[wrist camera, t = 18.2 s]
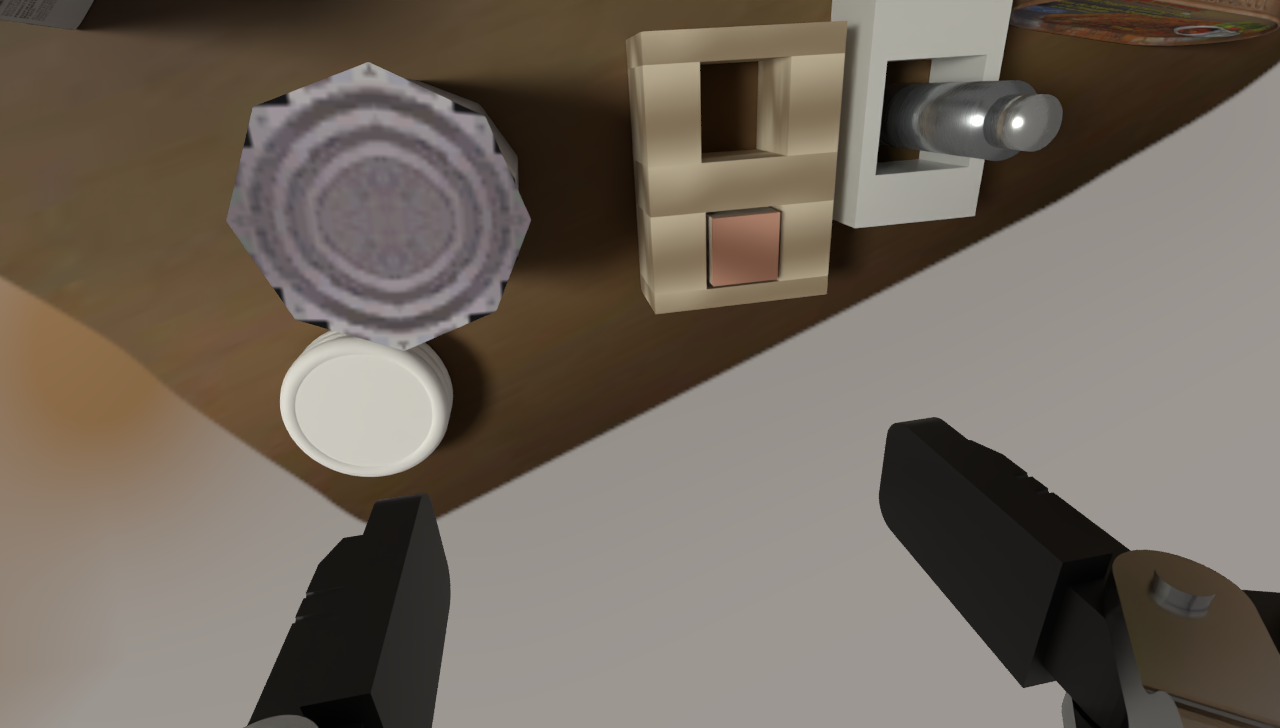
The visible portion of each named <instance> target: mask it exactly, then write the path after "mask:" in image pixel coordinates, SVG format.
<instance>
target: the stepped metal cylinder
mask: <svg viewBox="0 0 1280 728" xmlns="http://www.w3.org/2000/svg"><path fill="white" fill-rule="evenodd" d="M1062 116H1063V112H1062V106H1061V104H1060V102H1059V100H1058V99H1057V98H1056V97H1054V96H1052V95H1049V94H1037V93H1036V91H1035V90H1034V88H1033V87H1032V86H1031V85H1029V84H1028V83H1026V82H1023V81H1019V80H1005V81H973V82H941V83H909V84H885V88H884V98H883V107H882V117H881V127H880V136H879V145H884V146H891V147H899V148H906V149H913V150H920V151H927V152H934V153H941V154H949V155H956V156H963V157H970V158H977V159H984V160H992V161H1001V160H1005V159H1008V158H1010V157H1012V156H1014V155H1016V154H1017V153H1018V152H1020V151H1037V150H1040V149H1042V148H1043V147H1045V146H1046V145H1048V144H1049V143H1050V142H1051V141H1052V140H1053V139H1054V137H1055V136H1056V134H1057V133H1058V131H1059V128H1060V126H1061V122H1062Z"/></svg>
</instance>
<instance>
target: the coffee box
mask: <svg viewBox="0 0 1280 728" xmlns="http://www.w3.org/2000/svg"><path fill="white" fill-rule="evenodd" d="M93 2H94V0H0V20H3V21H11V22H19V23H26V24H31V25H40V26H47V27H55V28H62V29H70V30H75V29H76V28H77V27H78V26H79V25H80V23H81V22H82V20H83V18H84V17H85V15H86V13H87V12H88V10H89V8H90V7H91V5H92V3H93Z"/></svg>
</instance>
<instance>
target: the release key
mask: <svg viewBox="0 0 1280 728" xmlns="http://www.w3.org/2000/svg"><path fill="white" fill-rule="evenodd" d="M779 230H780V212H778V211H776V210H774V209H772V208H770V207H757V208H747V209H736V210H726V211H715V212H706V279H707V280H708V281H709V282H710V283H711V284H712V285H713V286H722V285H731V284H740V283H749V282H758V281H767V280H775V279H778V255H779Z"/></svg>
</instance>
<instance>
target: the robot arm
mask: <svg viewBox="0 0 1280 728" xmlns="http://www.w3.org/2000/svg"><path fill="white" fill-rule="evenodd" d="M879 503H880V508H881V512H882V515H883V518H884V520H885V522H886V524H887V526H888V527H889V528H890V530H891V531H892V532H893V533H894V535H895V536H896V537H897V538H898V540H899V541H900V542H901V543H902V544H903V545H904V547H906V549H907V550H908V551H909V552H910V554H911V555H912V556H913V557H914V559H915V560H916V561H917V562H918V563H919V564H920V566H921V567H922V568H923V569H924V571H925V572H926V573H927V574H928V575H929V576H930V578H931V579H932V580H933V581H934V582H935V584H936V585H937V586H938V587H939V588H940V590H941V591H942V592H943V593H944V594H945V595H946V597H947V598H948V599H949V600H950V601H951V603H952V604H953V605H954V606H955V607H956V609H957V610H958V611H959V612H960V613H961V615H962V616H963V617H964V618H965V619H966V621H967V622H968V623H969V624H970V625H971V627H972V628H973V629H974V630H975V631H976V632H977V634H978V635H979V636H980V637H981V638H982V640H983V641H984V642H985V643H986V644H987V646H988V647H989V648H990V649H991V650H992V651H993V653H994V654H995V655H996V656H997V657H998V659H999V660H1000V661H1001V662H1002V663H1003V665H1004V666H1005V667H1006V668H1007V669H1008V671H1009V672H1010V673H1011V674H1012V675H1013V676H1014V678H1015V679H1016V680H1017V681H1018V683H1019V684H1020V685H1021V686H1022V687H1023V688H1025V687H1030V686H1035V685H1039V684H1044V683H1048V682H1053V681H1057V682H1058V683H1059V684H1060V685H1061V686H1062V687H1063V688H1064V690H1065V691H1066V694H1065V697H1064V700H1063V703H1062V717H1063V725H1064V728H1280V593H1276V592H1263V591H1250V590H1241V589H1240V588H1239V587H1238V586H1237V585H1235V584H1234V583H1233V582H1231V581H1230V580H1228V579H1227V578H1226V577H1224V576H1222V575H1221V574H1219V573H1217V572H1216V571H1214V570H1212V569H1210V568H1208V567H1206V566H1204V565H1202V564H1199V563H1197V562H1195V561H1192V560H1190V559H1187V558H1184V557H1181V556H1178V555H1174V554H1170V553H1166V552H1160V551H1153V550H1133V551H1130V550H1129V549H1128V548H1126V547H1125V546H1124V545H1122V544H1121V543H1120V542H1118V541H1117V540H1116V539H1114V538H1113V537H1112V536H1110V535H1109V534H1108V533H1106V532H1105V531H1104V530H1102V529H1101V528H1100V527H1098V526H1097V525H1096V524H1095V523H1093V522H1092V521H1090V520H1089V519H1088V518H1086V517H1085V516H1084V515H1083V514H1081V513H1080V512H1078V511H1077V510H1076V509H1075V508H1073V507H1072V506H1071V505H1069V504H1068V503H1066V502H1065V501H1064V500H1063V499H1061V498H1060V497H1059V496H1057V495H1056V494H1054V493H1049V492H1048V488H1047V487H1045V486H1044V485H1043V484H1041V483H1040V482H1039V481H1037V480H1036V479H1034V478H1033V477H1028V475H1027V472H1025V471H1024V470H1023V469H1021V468H1020V467H1019V466H1017V465H1016V464H1015V463H1013V462H1012V461H1011V460H1009V459H1008V458H1007V457H1006V456H1004V455H1003V454H1001V453H998V452H996V451H994V450H992V449H990V448H987V447H985V446H983V445H981V444H978V443H976V442H974V441H972V440H968V439H966V438H965V437H964V436H963V435H961V434H960V433H959V432H957V431H956V430H955V429H954V428H952V427H951V426H950V425H948V424H947V423H946V422H945V421H943V420H942V419H940V418H936V417H933V418H926V419H919V420H913V421H907V422H900V423H895V424H893V425H892V426H891V427H890V428H889V430H888V433H887V438H886V446H885V453H884V461H883V468H882V475H881V483H880V490H879ZM306 595H307V596H306V598H304V599H303V601H302V603H301V605H300V608H299V610H298V612H297V615H296V622H295V623H293V624H292V626H291V628H290V630H289V633H288V635H287V637H286V639H285V642H284V644H283V646H282V649H281V651H280V653H279V656H278V658H277V660H276V662H275V664H274V667H273V669H272V671H271V674H270V676H269V678H268V680H267V683H266V685H265V687H264V689H263V692H262V694H261V696H260V699H259V701H258V703H257V705H256V708H255V710H254V712H253V714H252V717H251V719H250V721H249V723H248V725H247V726H246V727H244V728H432V722H433V715H434V709H435V701H436V695H437V688H438V682H439V675H440V668H441V661H442V655H443V648H444V641H445V634H446V627H447V620H448V613H449V607H450V576H449V569H448V564H447V560H446V556H445V553H444V549H443V545H442V541H441V537H440V533H439V529H438V525H437V521H436V518H435V514H434V510H433V506H432V503H431V500H430V497H429V496H428V494H427V493H422V494H415V495H409V496H402V497H395V498H389V499H382V500H378V501H376V503H375V504H374V507H373V509H372V512H371V515H370V517H369V520H368V523H367V525H366V528H365V531H364V534H363V535H359V536H353V537H347V538H343V539H342V540H341V541H340V542H339V543H338V544H337V545H336V546H335V547H334V549H333V550H332V551H331V552H330V553H329V554H328V555H327V556H326V557H325V558H324V559H323V560H322V561H321V562H320V563H319V565H318V567H317V569H316V571H315V574H314V576H313V578H312V580H311V583H310V585H309V587H308V590H307V592H306Z"/></svg>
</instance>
